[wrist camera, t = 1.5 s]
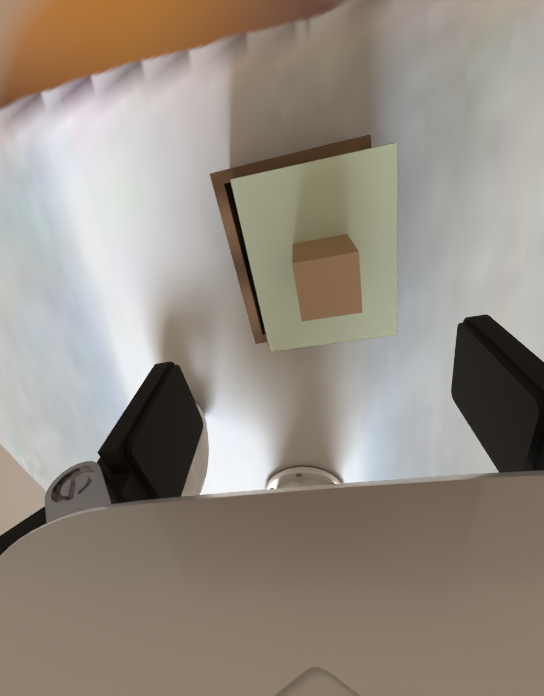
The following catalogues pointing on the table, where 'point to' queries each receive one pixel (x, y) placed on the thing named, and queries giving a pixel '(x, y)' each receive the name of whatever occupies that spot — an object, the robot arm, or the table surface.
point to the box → (233, 223)
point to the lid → (323, 247)
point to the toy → (198, 464)
